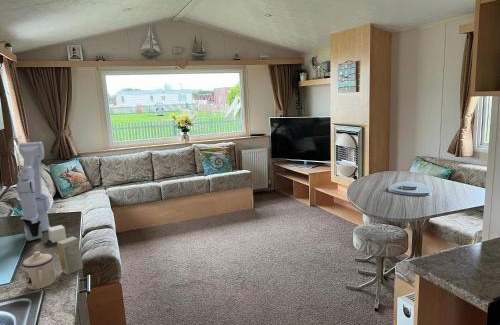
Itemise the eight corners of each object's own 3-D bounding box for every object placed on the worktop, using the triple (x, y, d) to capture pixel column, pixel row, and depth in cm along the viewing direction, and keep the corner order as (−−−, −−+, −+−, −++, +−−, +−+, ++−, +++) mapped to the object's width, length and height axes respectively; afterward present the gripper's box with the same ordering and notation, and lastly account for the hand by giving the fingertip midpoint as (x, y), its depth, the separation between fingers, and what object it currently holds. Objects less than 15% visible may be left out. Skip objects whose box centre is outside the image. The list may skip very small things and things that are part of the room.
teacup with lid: (26, 282, 129) (20, 251, 127) (55, 274, 134) (50, 244, 132) (27, 297, 119) (21, 263, 117) (58, 288, 124) (53, 256, 122)
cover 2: (49, 239, 169) (47, 228, 168) (63, 235, 173) (61, 224, 172) (52, 242, 165) (50, 231, 164) (66, 239, 169) (64, 227, 168)
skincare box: (78, 265, 141) (73, 235, 138) (83, 268, 138) (79, 238, 136) (61, 272, 136) (56, 241, 134) (66, 275, 133) (61, 243, 131)
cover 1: (25, 237, 170) (23, 226, 169) (39, 234, 173) (38, 223, 172) (28, 240, 165) (26, 229, 164) (42, 237, 169) (40, 225, 168)
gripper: (16, 205, 170) (20, 232, 172) (22, 211, 159) (27, 241, 161) (33, 201, 174) (37, 228, 177) (40, 207, 163) (44, 236, 166)
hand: (33, 234), depth 169 cm, fingers closed on cover 1, 6 cm apart
